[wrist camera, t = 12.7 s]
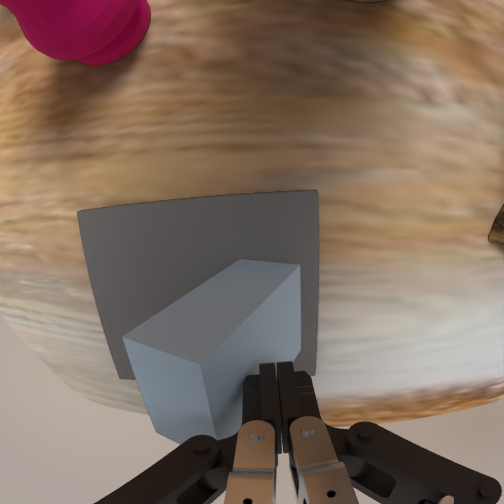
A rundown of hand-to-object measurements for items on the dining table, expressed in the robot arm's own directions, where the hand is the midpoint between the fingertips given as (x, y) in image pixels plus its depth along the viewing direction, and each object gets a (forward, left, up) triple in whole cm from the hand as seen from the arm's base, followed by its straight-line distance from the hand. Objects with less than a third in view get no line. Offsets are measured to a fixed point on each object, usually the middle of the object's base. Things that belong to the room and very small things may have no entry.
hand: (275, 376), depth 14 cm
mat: (0, -5, -8) cm, 10 cm away
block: (0, 0, -7) cm, 7 cm away
